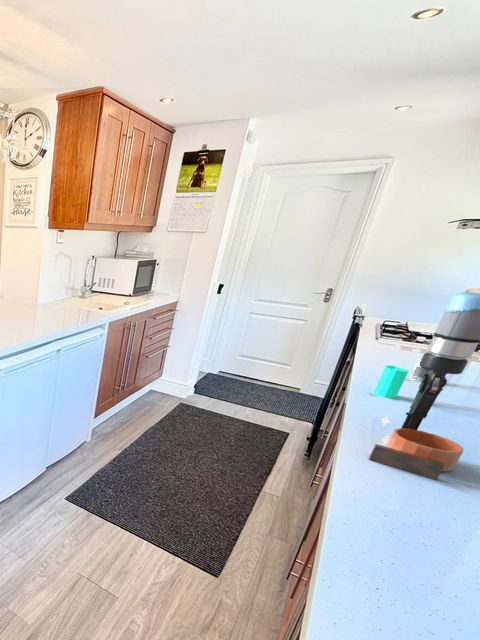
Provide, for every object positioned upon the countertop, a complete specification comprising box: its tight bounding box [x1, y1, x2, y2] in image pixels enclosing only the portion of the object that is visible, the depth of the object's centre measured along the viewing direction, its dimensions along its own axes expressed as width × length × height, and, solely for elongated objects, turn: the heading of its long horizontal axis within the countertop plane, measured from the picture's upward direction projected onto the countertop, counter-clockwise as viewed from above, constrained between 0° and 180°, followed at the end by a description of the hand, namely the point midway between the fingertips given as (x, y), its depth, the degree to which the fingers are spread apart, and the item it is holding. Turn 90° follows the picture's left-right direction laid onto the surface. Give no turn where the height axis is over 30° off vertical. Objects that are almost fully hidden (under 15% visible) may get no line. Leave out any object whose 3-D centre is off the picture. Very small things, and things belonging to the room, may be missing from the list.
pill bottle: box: [408, 358, 430, 383], centre depth 163 cm, size 5×5×8 cm
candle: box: [373, 364, 409, 399], centre depth 145 cm, size 6×6×12 cm
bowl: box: [385, 427, 464, 472], centre depth 103 cm, size 12×12×6 cm
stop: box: [368, 443, 444, 481], centre depth 99 cm, size 12×2×4 cm, turn 45°
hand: (404, 437), depth 110 cm, fingers closed
